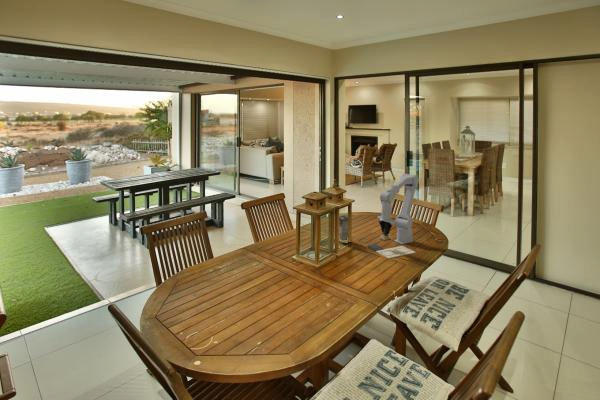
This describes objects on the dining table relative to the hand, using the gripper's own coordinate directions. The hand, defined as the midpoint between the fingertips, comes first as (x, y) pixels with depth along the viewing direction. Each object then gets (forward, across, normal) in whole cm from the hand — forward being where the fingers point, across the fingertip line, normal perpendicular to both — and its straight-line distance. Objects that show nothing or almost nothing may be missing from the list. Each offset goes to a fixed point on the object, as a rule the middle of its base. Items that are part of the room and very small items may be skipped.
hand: (385, 233), depth 219 cm
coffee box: (+10, -24, -16) cm, 30 cm away
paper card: (+10, +7, +3) cm, 13 cm away
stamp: (+4, 0, 0) cm, 4 cm away
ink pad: (+10, -4, -5) cm, 12 cm away
